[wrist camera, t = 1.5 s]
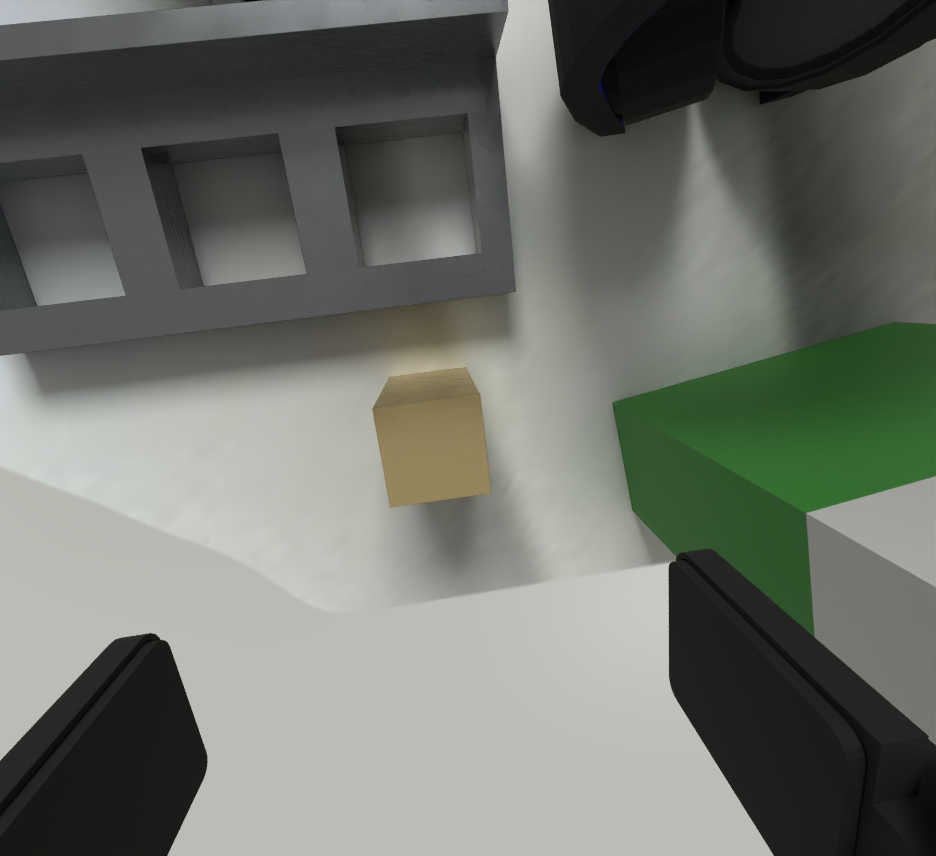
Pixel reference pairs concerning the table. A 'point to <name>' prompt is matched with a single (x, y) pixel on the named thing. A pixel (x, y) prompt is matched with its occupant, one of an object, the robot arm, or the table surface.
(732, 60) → the headphones
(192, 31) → the grey slotted rack
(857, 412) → the hardback book
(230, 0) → the white game console
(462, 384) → the brass peg
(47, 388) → the table surface
